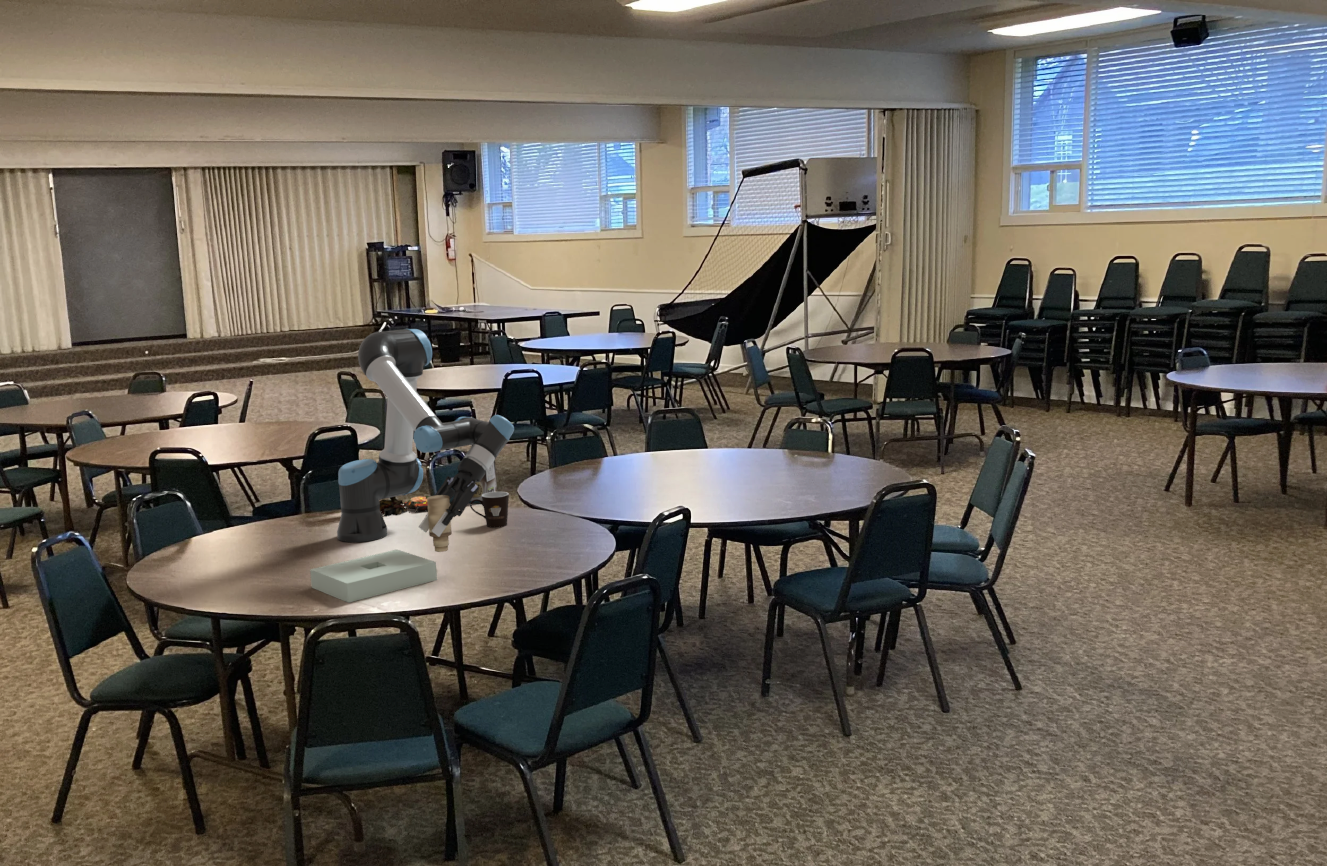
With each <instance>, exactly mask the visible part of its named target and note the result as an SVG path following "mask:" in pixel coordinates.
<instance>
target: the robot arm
mask: <svg viewBox="0 0 1327 866" xmlns="http://www.w3.org/2000/svg"><path fill="white" fill-rule="evenodd" d="M358 348H359V349H358V352H357V360H358V364H359V367H360V369H361V371H362V372H363V375H364V376H366V378H367V379H368V380H369V381H370V382H374V383H376V385H377V386H378V388H379V389H380V390H381V391H382V392H383V393H384V395H385V397H387V403H386V418H385V419H386V420H385V434H384V448H383V449H382V450H381V451H380V452H379V454H378V462H377V461H376V460H375V459H373V458H372V459H371V458H366V459H365V458H363V459H357V460H353V461H350V462H347V463H345V464H343V465H342V466H340V468H339V469H338V473H337V474H338V477H337V478H338V479H337V480H338V481H337V482H338V488H339V489H338V490H339V497H340V498H339V500H340V511H341V514H340V519H339V523H338V527H337V530H336V531H337V532H336V533H337V534H336V535H337V537H336V538H337V540H338V541H340V542H346V543H360V542H361V543H364V542H370V541H375V540H379V539H382V538H385V537H387V536H388V527H387V524H386V522H385V519H384V515H383V514H381V511H380V505H379V501H381V500H382V499H383V500H386V499H389V498H394V497H399V496H400V497H401V496H407V495H408V494H412V493H414V492H416V491H417V490H419V488H420V486H421V485H422V482H423V478H424V468H423V467H422V465H423V464H422V462H421V461H420V459H419V458H417V457H418V456H417V453H416V452H414V451H413V443H414V444H415V447H416V449H417V450H418V451H419V452H421V453H426V454H427V453H436V452H439V451H444V450H450V449H456V448H461V447H467V446H471V447H470V448H469V450H468V451H467V452H466V454H465V455H464V456H466V458H464V457H463V458H462V460H461V461H460V462H459V464H458V465H457V471H458V472H457V474H455V475H454V476H453V477H450V476H449V475H447V476H446V477H445V480H444V482H443V483H442V484H441V486H440V488H439V489H438V490H436V492H435V494H434V495H433V496H435V495H447V496H449V499H450V500H451V499H452V500H451V502H450V507H449V509H446V511H447V512H448V513H447V512H444V513H443V515H442V516H441V518H440V519H439V521H438V522H437V524H436V525H435V526H434V528H433V529H432V532H433V533H434V534H436V535H437V536H438V537H440V535H441V534H442V532H443V531H444V529H445V528H446V526H447V525H448V524H449V523H450V521H451V522H452V520H453V519H454V518H455V517H456V516H457V517H461V516H462V514H463V513H464V511H465V510H466V508H467V506H468V505H469V503H471V502H470V500H471V498H472V497H473V495H474V494H475V493H476V492H477V491H478V490H479V487H478V486H477V485H476V484H475V482H480V481H481V479H482V478H483V476H484V475H485V473H486V470H488V469H489V467H490V466H491V465H492V463H493V461H494V460H495V461H496V459H497V457H498V456H499V455H500V454H501V452H502V450H503V449H504V447H505V446H506V445H507V443H508V442H509V441H510V438H511V437H512V435H513V434H514V431H515V426H514V424H512V422H511V421H509V420H508V419H507V418H506V417H504V416H502V415H499V414H494V415H493V416H492V417H491V418H489V421H486V420H481V419H477V418H474V417H471V416H460V417H458V418H456V419H455V420H454V421H448V422H442V421H441V420H440V419H439V417H437V415H436V414H435V413H434V412H433V411H432V409H431V408H430V407H429V405H428V404H427V403H426V401H425V400H424V399H423V398H422V397H421V395H420V394H419V393H418V391H417V388H418V387H417V386H418V379H420V377H422V376H423V374H424V367H426V366H428V365H429V364H430V362H431V361H432V358H433V348H432V343H431V341H430V339H429V338H428V336H427V334H426V333H425V332H424V331H422V330H420V329H417V328H404V329H396V330H395V329H393V330H385V331H375V332H373V333H370V334H369V335H367V336H366V337H365V338H364V339H363V340H362V342H361V343H360V345H359V347H358ZM418 528H419V529H420V530H421V531H423V532H424V533H427V532H429V519H428V512H427V513H426V515H425V517H424V518H423V519H422V521H421V522H420V523H419V525H418Z"/></svg>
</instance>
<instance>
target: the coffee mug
mask: <svg viewBox="0 0 1327 866" xmlns="http://www.w3.org/2000/svg"><path fill="white" fill-rule="evenodd" d="M481 496H482V501H481V500H478V499H475V500H473V501H471V502H470V505H469V507H470V509H471V510H472V511H473V512H474V513H475V514H477V515H478V516H481V518H482V517H483V518H484V519H485V523H486V526H487V528H491V529H493V528H495V529H496V528H502V527H503V528H504V527H506V526H508V516H509V515H508V514H509V497H510V493H509V492H507V491H497V492H489V493H485V494H482V495H481ZM475 502H479V503H480V504H481V506H482V507H483V512H484V514H482V513H480V512H478V511H477V510H476V509H474V507H473V506H472V505H473V503H475Z"/></svg>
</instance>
